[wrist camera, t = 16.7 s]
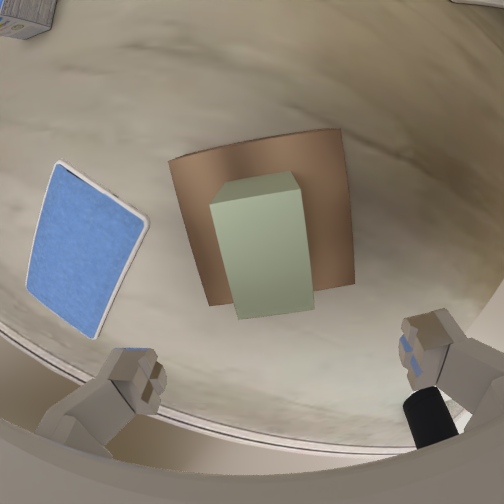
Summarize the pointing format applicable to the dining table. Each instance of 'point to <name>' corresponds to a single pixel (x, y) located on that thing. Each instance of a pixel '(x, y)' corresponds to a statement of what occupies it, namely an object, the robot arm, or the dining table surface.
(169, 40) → the dining table surface
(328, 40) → the dining table surface
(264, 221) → the sage brick
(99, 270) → the blue rectangular panel
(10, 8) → the medicine box
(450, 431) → the black bottle
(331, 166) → the walnut brick
